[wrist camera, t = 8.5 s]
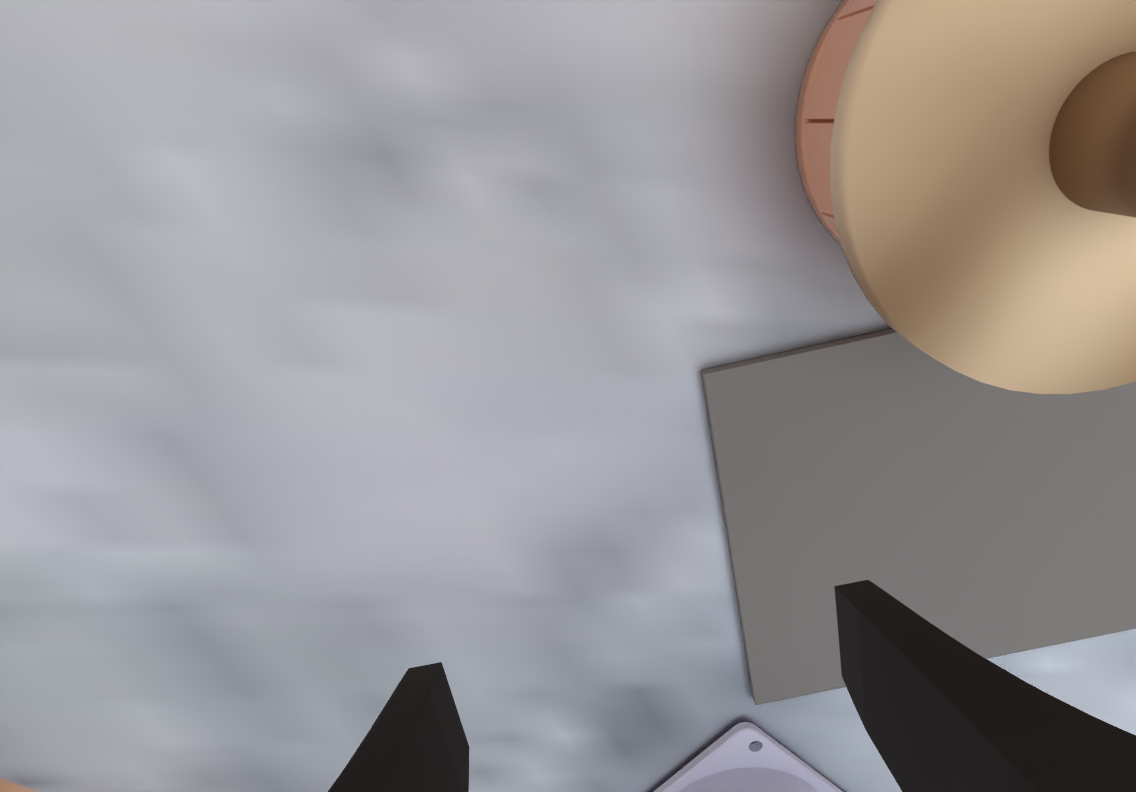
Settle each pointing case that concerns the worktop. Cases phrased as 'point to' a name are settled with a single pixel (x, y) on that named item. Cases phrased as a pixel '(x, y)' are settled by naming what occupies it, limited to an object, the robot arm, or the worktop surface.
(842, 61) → the bowl
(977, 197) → the lid
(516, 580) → the worktop surface
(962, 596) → the mat
